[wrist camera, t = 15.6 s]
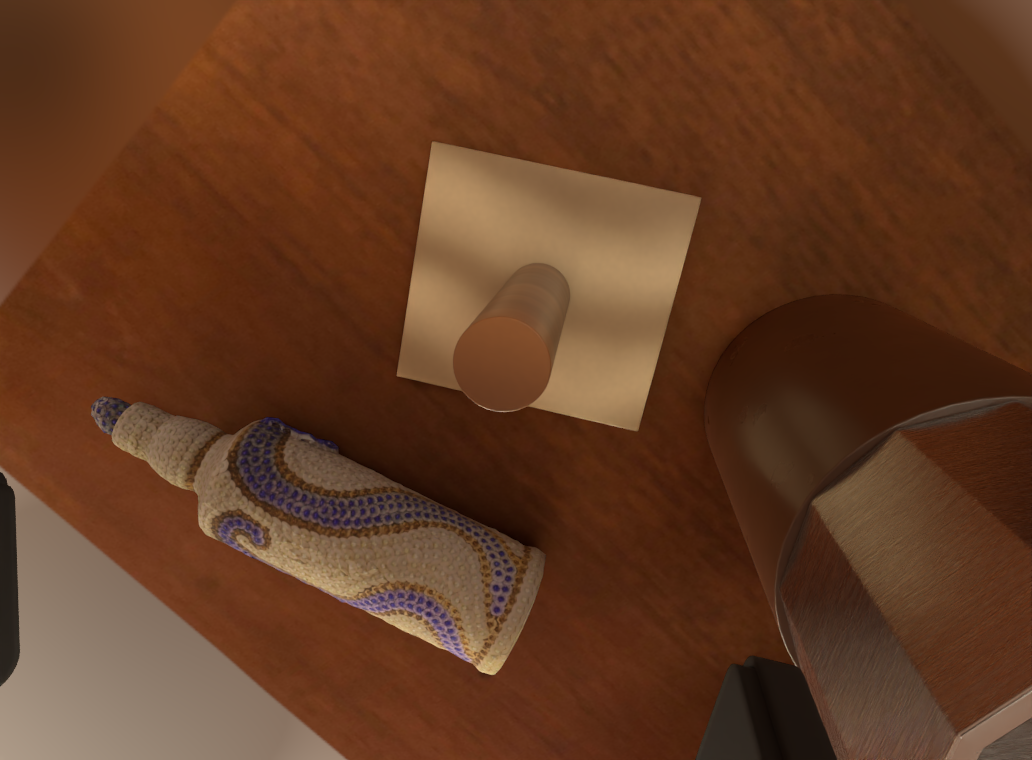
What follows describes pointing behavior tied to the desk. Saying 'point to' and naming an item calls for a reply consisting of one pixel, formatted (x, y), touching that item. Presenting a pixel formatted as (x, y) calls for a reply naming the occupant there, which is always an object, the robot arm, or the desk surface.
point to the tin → (886, 522)
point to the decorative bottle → (342, 528)
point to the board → (563, 245)
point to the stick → (514, 340)
